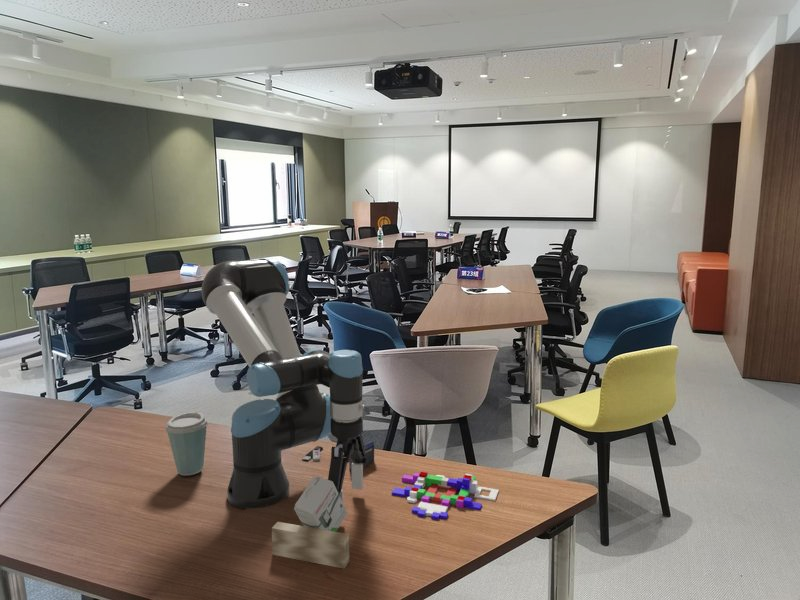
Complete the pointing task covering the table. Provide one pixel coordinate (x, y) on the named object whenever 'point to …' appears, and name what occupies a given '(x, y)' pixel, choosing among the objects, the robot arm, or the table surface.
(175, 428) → the disposable coffee cup
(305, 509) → the ink box
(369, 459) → the mini dv tape
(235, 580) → the table surface
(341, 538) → the board
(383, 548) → the table surface
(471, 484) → the building block set
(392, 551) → the table surface
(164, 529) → the table surface
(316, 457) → the usb flash drive
